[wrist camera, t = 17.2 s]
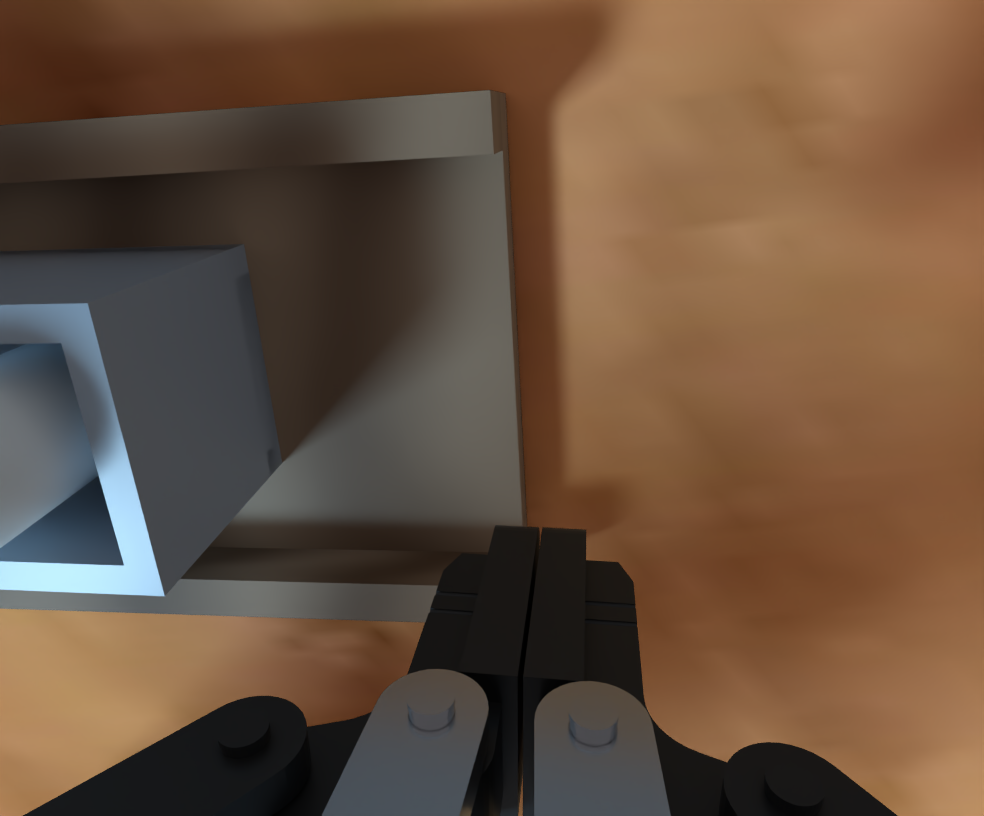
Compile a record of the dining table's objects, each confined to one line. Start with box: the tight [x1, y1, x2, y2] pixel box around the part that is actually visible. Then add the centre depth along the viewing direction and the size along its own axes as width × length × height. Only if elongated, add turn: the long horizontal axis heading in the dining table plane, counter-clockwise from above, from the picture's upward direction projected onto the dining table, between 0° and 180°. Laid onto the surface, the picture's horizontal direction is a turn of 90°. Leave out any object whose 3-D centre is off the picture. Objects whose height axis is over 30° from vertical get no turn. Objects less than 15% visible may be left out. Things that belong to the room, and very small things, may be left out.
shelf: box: [0, 90, 527, 622], centre depth 16 cm, size 20×13×9 cm, turn 94°
